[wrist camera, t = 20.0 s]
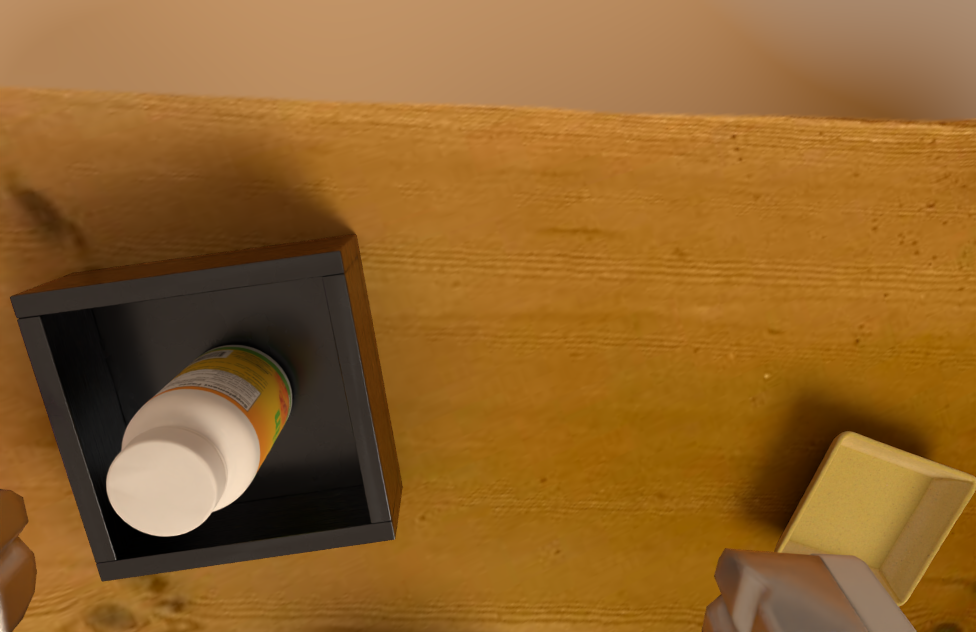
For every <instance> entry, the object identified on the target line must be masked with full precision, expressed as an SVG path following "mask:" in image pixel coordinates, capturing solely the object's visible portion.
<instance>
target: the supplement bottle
mask: <svg viewBox="0 0 976 632" xmlns="http://www.w3.org/2000/svg"><path fill="white" fill-rule="evenodd" d="M291 407H292V390H291V386H290V382H289V380H288V378H287V375H286V374H285V372H284V371H283V369H282V368H281V367H280V365H279V364H278V363H277V362H276V361H275V360H273V359H272V358H271V357H270V356H268V355H267V354H265V353H263V352H262V351H260V350H257V349H255V348H252V347H248V346H243V345H226V346H221V347H217V348H214V349H211V350H209V351H207V352H205V353H204V354H202V355H201V356H199V357H198V358H197V359H195V360H194V361H193V362H192V363H190V364H189V365H188V366H187V367H186V368H185V369H184V370H183V371H182V372H181V373H179V374H178V375H177V376H176V377H175V378H174V379H173V380H172V381H170V382H169V383H168V384H167V385H166V386H165V387H164V388H163V389H161V390H160V391H159V392H158V393H157V394H156V395H155V396H154V397H152V398H151V399H150V400H149V401H148V402H147V403H145V404H144V405H143V406H142V407H141V408H140V410H139V411H138V412H137V413H136V414H135V415H134V417H133V418H132V419H131V421H130V422H129V424H128V426H127V428H126V431H125V433H124V437H123V441H122V449H121V452H120V453H119V454H118V455H117V456H116V458H115V459H114V460H113V462H112V464H111V466H110V468H109V470H108V474H107V479H106V488H107V494H108V498H109V501H110V503H111V505H112V507H113V508H114V510H115V511H116V513H117V514H118V515H119V516H120V517H121V518H122V519H123V520H124V521H125V522H126V523H127V524H129V525H130V526H132V527H133V528H135V529H137V530H139V531H141V532H144V533H147V534H150V535H155V536H176V535H181V534H184V533H187V532H189V531H191V530H193V529H195V528H197V527H198V526H200V525H201V524H202V523H203V522H204V521H205V520H206V519H207V518H208V517H209V516H210V514H211V513H212V512H213V511H216V510H219V509H221V508H224V507H225V506H227V505H229V504H231V503H232V502H234V501H235V500H236V499H237V498H239V497H240V496H241V495H242V494H243V492H244V491H245V490H246V489H247V488H248V486H249V485H250V483H251V482H252V480H253V479H254V477H255V475H256V474H257V472H258V470H259V468H260V467H261V465H262V463H263V461H264V460H265V458H266V456H267V455H268V453H269V451H270V450H271V448H272V446H273V444H274V442H275V440H276V439H277V437H278V435H279V434H280V432H281V430H282V428H283V427H284V425H285V423H286V421H287V419H288V417H289V414H290V411H291Z"/></svg>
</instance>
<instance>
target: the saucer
mask: <svg viewBox="0 0 976 632" xmlns="http://www.w3.org/2000/svg"><path fill="white" fill-rule="evenodd" d="M975 490H976V478H975V477H974V476H973V475H971V474H968V473H965V472H963V471H960V470H957V469H954V468H951V467H948V466H945V465H943V464H940V463H937V462H934V461H931V460H929V459H926V458H923V457H920V456H918V455H915V454H912V453H909V452H906V451H903V450H900V449H898V448H895V447H892V446H890V445H887V444H884V443H882V442H879V441H876V440H873V439H871V438H868V437H865V436H863V435H860V434H857V433H855V432H851V431H845V432H842V433H840V434H839V435H837V436H836V437H835V438H834V439H833V441H832V443H831V445H830V447H829V449H828V450H827V452H826V454H825V456H824V458H823V460H822V462H821V463H820V465H819V467H818V469H817V471H816V473H815V474H814V476H813V478H812V480H811V482H810V484H809V486H808V488H807V489H806V491H805V493H804V495H803V497H802V499H801V500H800V502H799V504H798V506H797V508H796V510H795V511H794V513H793V515H792V517H791V519H790V521H789V523H788V524H787V526H786V528H785V530H784V532H783V534H782V535H781V537H780V539H779V541H778V543H777V545H776V548H775V551H774V552H780V553H793V554H806V555H810V554H812V553H814V554H833V555H852V556H856V557H858V558H859V559H861V560H862V561H864V562H865V563H866V564H867V565H868V566H869V568H870V569H871V570H872V572H873V573H874V575H875V576H876V577H877V579H878V580H879V581H880V583H881V584H882V585H883V587H884V588H885V589H886V591H887V592H888V593H889V595H890V596H891V597H892V599H893V600H894V601H895V603H896V604H897V606H900V605H902V604H904V603H905V602H906V601H907V600H908V599H909V597H910V596H911V594H912V592H913V591H914V589H915V587H916V586H917V584H918V583H919V581H920V579H921V578H922V576H923V574H924V573H925V571H926V569H927V568H928V566H929V565H930V563H931V561H932V559H933V558H934V556H935V555H936V553H937V552H938V550H939V548H940V546H941V545H942V543H943V541H944V540H945V538H946V537H947V535H948V533H949V532H950V530H951V528H952V527H953V525H954V523H955V522H956V520H957V519H958V517H959V516H960V514H961V513H962V511H963V509H964V507H965V506H966V504H967V503H968V502H969V500H970V498H971V497H972V495H973V494H974V492H975Z"/></svg>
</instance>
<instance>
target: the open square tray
mask: <svg viewBox="0 0 976 632" xmlns="http://www.w3.org/2000/svg"><path fill="white" fill-rule="evenodd" d="M10 299H11V303H12V306H13V309H14V312H15V315H16V317H17V318H19V319H18V320H17V321H18V324H19V327H20V331H21V334H22V337H23V340H24V343H25V346H26V349H27V352H28V355H29V358H30V361H31V364H32V368H33V371H34V374H35V377H36V380H37V383H38V386H39V389H40V392H41V395H42V398H43V401H44V405H45V408H46V411H47V414H48V417H49V420H50V423H51V426H52V429H53V432H54V435H55V438H56V441H57V445H58V448H59V451H60V454H61V457H62V460H63V463H64V466H65V469H66V472H67V475H68V478H69V482H70V485H71V488H72V491H73V494H74V497H75V500H76V503H77V506H78V509H79V512H80V515H81V519H82V522H83V525H84V528H85V531H86V534H87V537H88V540H89V543H90V546H91V549H92V552H93V555H94V559H95V562H96V563H97V564H96V565H97V568H98V571H99V574H100V577H101V581H109V580H116V579H123V578H130V577H137V576H144V575H151V574H158V573H165V572H172V571H179V570H186V569H193V568H200V567H207V566H214V565H221V564H227V563H234V562H241V561H248V560H255V559H262V558H269V557H276V556H283V555H290V554H297V553H304V552H311V551H318V550H325V549H332V548H339V547H346V546H353V545H360V544H367V543H374V542H381V541H388V540H394V539H395V537H396V530H397V523H398V516H399V509H400V502H401V494H402V488H403V486H402V481H401V475H400V470H399V464H398V459H397V454H396V448H395V443H394V437H393V432H392V426H391V421H390V415H389V410H388V404H387V399H386V393H385V388H384V383H383V377H382V372H381V366H380V361H379V355H378V350H377V344H376V339H375V333H374V328H373V322H372V317H371V312H370V306H369V301H368V295H367V290H366V284H365V279H364V273H363V268H362V262H361V257H360V251H359V246H358V241H357V235H356V234H351V235H344V236H337V237H329V238H322V239H315V240H308V241H300V242H293V243H286V244H279V245H272V246H264V247H257V248H250V249H243V250H235V251H228V252H221V253H214V254H206V255H199V256H192V257H185V258H177V259H170V260H163V261H156V262H149V263H141V264H134V265H127V266H120V267H112V268H105V269H98V270H91V271H83V272H76V273H71V274H69V275H66V276H63V277H61V278H58V279H55V280H53V281H50V282H47V283H45V284H42V285H39V286H37V287H34V288H31V289H29V290H26V291H23V292H21V293H18V294H15V295H12V296H11V297H10ZM226 345H243V346H248V347H252V348H255V349H257V350H260V351H262V352H263V353H265V354H267V355H268V356H270V357H271V358H272V359H273V360H275V361H276V362H277V363H278V364H279V365H280V367H281V368H282V369H283V371H284V372H285V374H286V375H287V378H288V380H289V382H290V386H291V390H292V407H291V411H290V414H289V417H288V419H287V421H286V423H285V425H284V427H283V428H282V430H281V432H280V434H279V435H278V437H277V439H276V440H275V442H274V444H273V446H272V448H271V450H270V451H269V453H268V455H267V456H266V458H265V460H264V461H263V463H262V465H261V467H260V468H259V470H258V472H257V474H256V475H255V477H254V479H253V480H252V482H251V483H250V485H249V486H248V488H247V489H246V490H245V491H244V492H243V494H242V495H241V496H240V497H239V498H237V499H236V500H235V501H234V502H232V503H231V504H229V505H227V506H225V507H224V508H221V509H219V510H216V511H213V512H212V513H211V514H210V516H209V517H208V518H207V519H206V520H205V521H204V522H203V523H202V524H201V525H200V526H198V527H197V528H195V529H193V530H191V531H189V532H187V533H184V534H181V535H176V536H155V535H150V534H147V533H144V532H141V531H139V530H137V529H135V528H133V527H132V526H130V525H129V524H127V523H126V522H125V521H124V520H123V519H122V518H121V517H120V516H119V515H118V514H117V513H116V511H115V510H114V508H113V507H112V505H111V503H110V501H109V498H108V494H107V488H106V479H107V474H108V470H109V468H110V466H111V464H112V462H113V460H114V459H115V458H116V456H117V455H118V454H119V453H120V452H121V449H122V441H123V437H124V433H125V431H126V428H127V426H128V424H129V422H130V421H131V419H132V418H133V417H134V415H135V414H136V413H137V412H138V411H139V410H140V408H141V407H142V406H143V405H144V404H145V403H147V402H148V401H149V400H150V399H151V398H152V397H154V396H155V395H156V394H157V393H158V392H159V391H160V390H161V389H163V388H164V387H165V386H166V385H167V384H168V383H169V382H170V381H172V380H173V379H174V378H175V377H176V376H177V375H178V374H179V373H181V372H182V371H183V370H184V369H185V368H186V367H187V366H188V365H189V364H190V363H192V362H193V361H194V360H195V359H197V358H198V357H199V356H201V355H202V354H204V353H205V352H207V351H209V350H211V349H214V348H217V347H221V346H226Z"/></svg>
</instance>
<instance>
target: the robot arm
mask: <svg viewBox="0 0 976 632" xmlns="http://www.w3.org/2000/svg"><path fill="white" fill-rule="evenodd" d="M27 523H28V517H27V513H26V509H25V504H24V500H23V497H21V496H20V495H18V494H16V493H15V492H13V491H11V490H4V489H0V632H12V631H13V630H14V629H15V628H16V626H17V625H18V624H19V623H20V621H21V620H22V619H23V617H24V615H25V613H26V610H27V608H28V606H29V604H30V601H31V599H32V597H33V594H34V592H35V583H36V574H37V569H36V563H35V557H34V553H33V552H32V551H31V550H30V549H29V548H28V547H27V546H26V545H25V544H24V542H23V541H22V540H21V539H20V538H19V537H18V536H19V534H20V533H21V531H22V530H23V529H24V527H25V526H26V524H27ZM714 577H715V580H716V582H717V584H718V587H719V589H720V592H721V595H720V596H719V597H718V598H716V599H715V600H714V601H713V602H712V603H711V604H709V605H708V606H707V607H706V612H705V617H704V622H703V627H702V632H917V631H916V630H915V628H914V627H913V626H912V624H911V623H910V622H909V620H908V619H907V618H906V616H905V615H904V614H903V612H902V611H901V610H900V608H899V607H898V606H897V604H896V603H895V601H894V600H893V599H892V597H891V596H890V595H889V593H888V592H887V591H886V589H885V588H884V587H883V585H882V584H881V583H880V581H879V580H878V579H877V577H876V576H875V575H874V573H873V572H872V570H871V569H870V568H869V566H868V565H867V564H866V563H865V562H864V561H862V560H861V559H859V558H858V557H856V556H852V555H833V554H814V553H812V554H810V555H806V554H793V553H780V552H766V551H753V550H740V549H727V548H725V550H724V551H723V553H722V554H721V556H720V558H719V560H718V564H717V568H716V571H715V575H714Z"/></svg>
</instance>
